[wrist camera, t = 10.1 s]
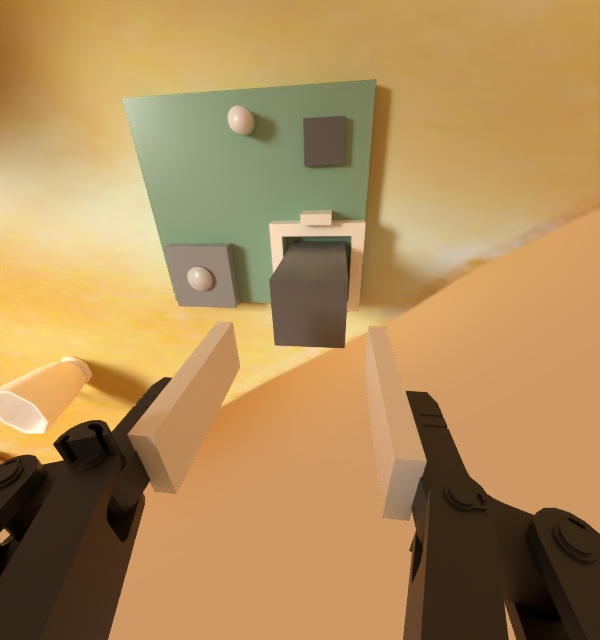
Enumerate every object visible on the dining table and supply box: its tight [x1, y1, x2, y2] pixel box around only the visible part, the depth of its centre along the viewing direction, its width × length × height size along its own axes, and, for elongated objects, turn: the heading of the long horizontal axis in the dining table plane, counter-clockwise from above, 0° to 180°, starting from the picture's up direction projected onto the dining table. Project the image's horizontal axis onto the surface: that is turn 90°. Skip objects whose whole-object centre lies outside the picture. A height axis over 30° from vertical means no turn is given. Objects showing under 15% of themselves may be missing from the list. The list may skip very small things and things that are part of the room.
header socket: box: [269, 210, 366, 311], centre depth 24 cm, size 9×8×2 cm
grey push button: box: [163, 243, 240, 308], centre depth 27 cm, size 6×10×3 cm, turn 92°
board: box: [122, 79, 376, 303], centre depth 24 cm, size 17×19×3 cm
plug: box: [269, 241, 348, 348], centre depth 21 cm, size 4×4×10 cm
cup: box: [0, 356, 92, 433], centre depth 35 cm, size 7×10×8 cm
